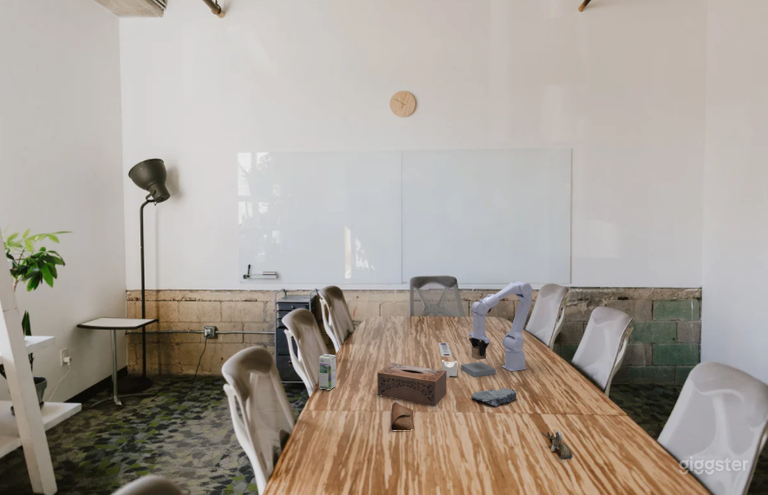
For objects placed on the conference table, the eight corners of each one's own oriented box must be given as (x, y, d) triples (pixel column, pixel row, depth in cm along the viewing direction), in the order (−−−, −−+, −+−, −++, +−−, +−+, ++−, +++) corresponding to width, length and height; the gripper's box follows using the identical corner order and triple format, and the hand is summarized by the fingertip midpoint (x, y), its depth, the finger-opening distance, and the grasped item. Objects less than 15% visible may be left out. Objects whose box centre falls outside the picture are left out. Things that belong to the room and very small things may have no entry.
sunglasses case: (416, 431, 143) (406, 414, 142) (398, 441, 143) (388, 425, 143) (413, 409, 160) (404, 394, 160) (398, 418, 161) (389, 403, 161)
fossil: (467, 398, 172) (467, 389, 172) (500, 390, 180) (500, 381, 179) (487, 410, 160) (487, 400, 160) (522, 401, 168) (522, 391, 168)
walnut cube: (480, 355, 206) (480, 345, 206) (486, 358, 201) (486, 348, 201) (471, 357, 204) (471, 347, 204) (477, 359, 200) (477, 349, 199)
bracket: (456, 378, 196) (456, 362, 195) (441, 377, 197) (441, 361, 197) (457, 369, 208) (457, 354, 208) (443, 368, 210) (443, 353, 210)
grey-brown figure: (535, 443, 132) (552, 452, 123) (544, 422, 134) (562, 430, 125) (554, 454, 133) (572, 464, 124) (563, 433, 135) (582, 442, 126)
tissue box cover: (446, 393, 177) (446, 370, 176) (435, 406, 164) (435, 381, 163) (391, 384, 188) (391, 362, 188) (377, 395, 175) (377, 372, 175)
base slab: (481, 366, 211) (481, 361, 211) (495, 374, 200) (495, 368, 200) (461, 369, 207) (461, 364, 207) (474, 377, 196) (474, 372, 196)
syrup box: (318, 389, 181) (318, 356, 181) (325, 384, 187) (324, 353, 186) (330, 391, 179) (330, 358, 179) (336, 386, 185) (336, 354, 185)
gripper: (464, 324, 208) (463, 351, 208) (480, 330, 194) (480, 359, 195) (476, 323, 210) (475, 349, 211) (493, 329, 197) (493, 357, 197)
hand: (479, 354), depth 203 cm, fingers closed on walnut cube, 5 cm apart
